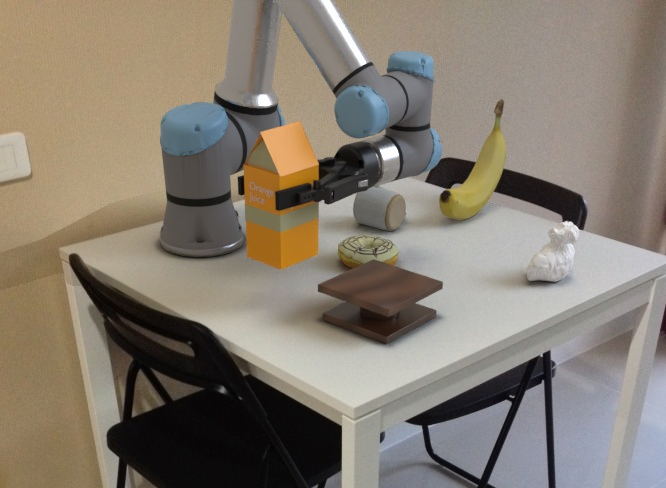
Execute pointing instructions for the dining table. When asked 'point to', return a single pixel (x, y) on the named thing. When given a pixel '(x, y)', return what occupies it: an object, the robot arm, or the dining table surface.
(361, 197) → the ceramic mug
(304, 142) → the orange juice
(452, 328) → the dining table surface
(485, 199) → the banana
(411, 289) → the stand
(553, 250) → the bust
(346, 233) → the dining table surface
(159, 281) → the dining table surface
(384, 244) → the decorated donut
